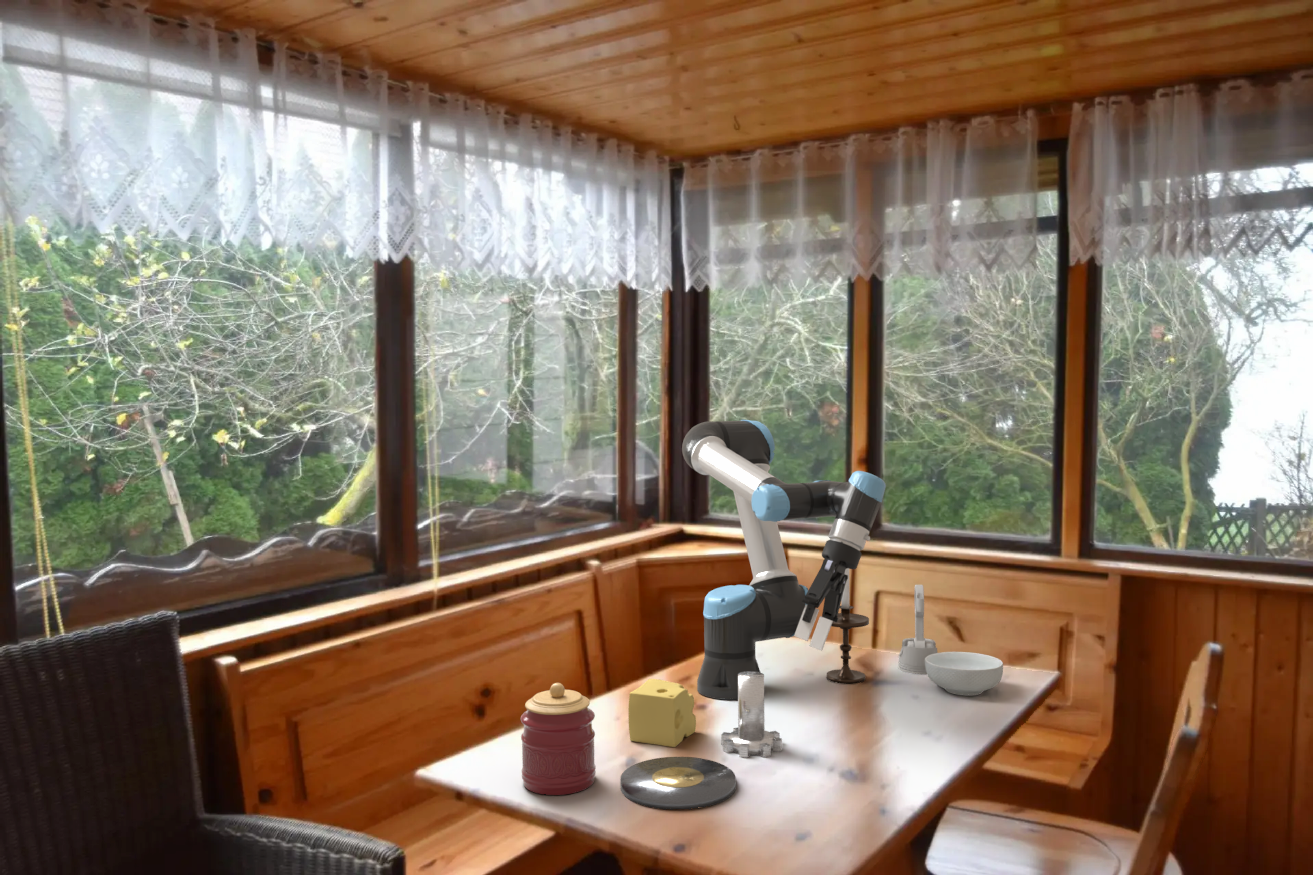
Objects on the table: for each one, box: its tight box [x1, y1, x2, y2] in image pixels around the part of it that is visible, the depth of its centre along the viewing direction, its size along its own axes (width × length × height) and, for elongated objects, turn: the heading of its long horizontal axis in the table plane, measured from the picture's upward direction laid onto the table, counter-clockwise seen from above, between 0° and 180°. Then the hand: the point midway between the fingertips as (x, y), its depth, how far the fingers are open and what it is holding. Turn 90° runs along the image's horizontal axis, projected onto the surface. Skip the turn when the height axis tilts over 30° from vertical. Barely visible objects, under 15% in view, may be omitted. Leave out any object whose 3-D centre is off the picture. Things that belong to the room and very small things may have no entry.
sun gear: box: [720, 671, 783, 758], centre depth 192 cm, size 12×12×14 cm
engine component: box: [898, 584, 939, 675], centre depth 245 cm, size 11×20×10 cm
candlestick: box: [826, 568, 870, 685], centre depth 237 cm, size 11×11×35 cm
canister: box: [520, 682, 597, 796], centre depth 176 cm, size 13×13×18 cm
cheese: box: [627, 678, 697, 748], centre depth 199 cm, size 10×11×10 cm
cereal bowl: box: [925, 651, 1004, 696], centre depth 227 cm, size 17×17×7 cm
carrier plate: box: [619, 756, 737, 811], centre depth 174 cm, size 20×20×2 cm
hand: (808, 643), depth 200 cm, fingers open, 13 cm apart
